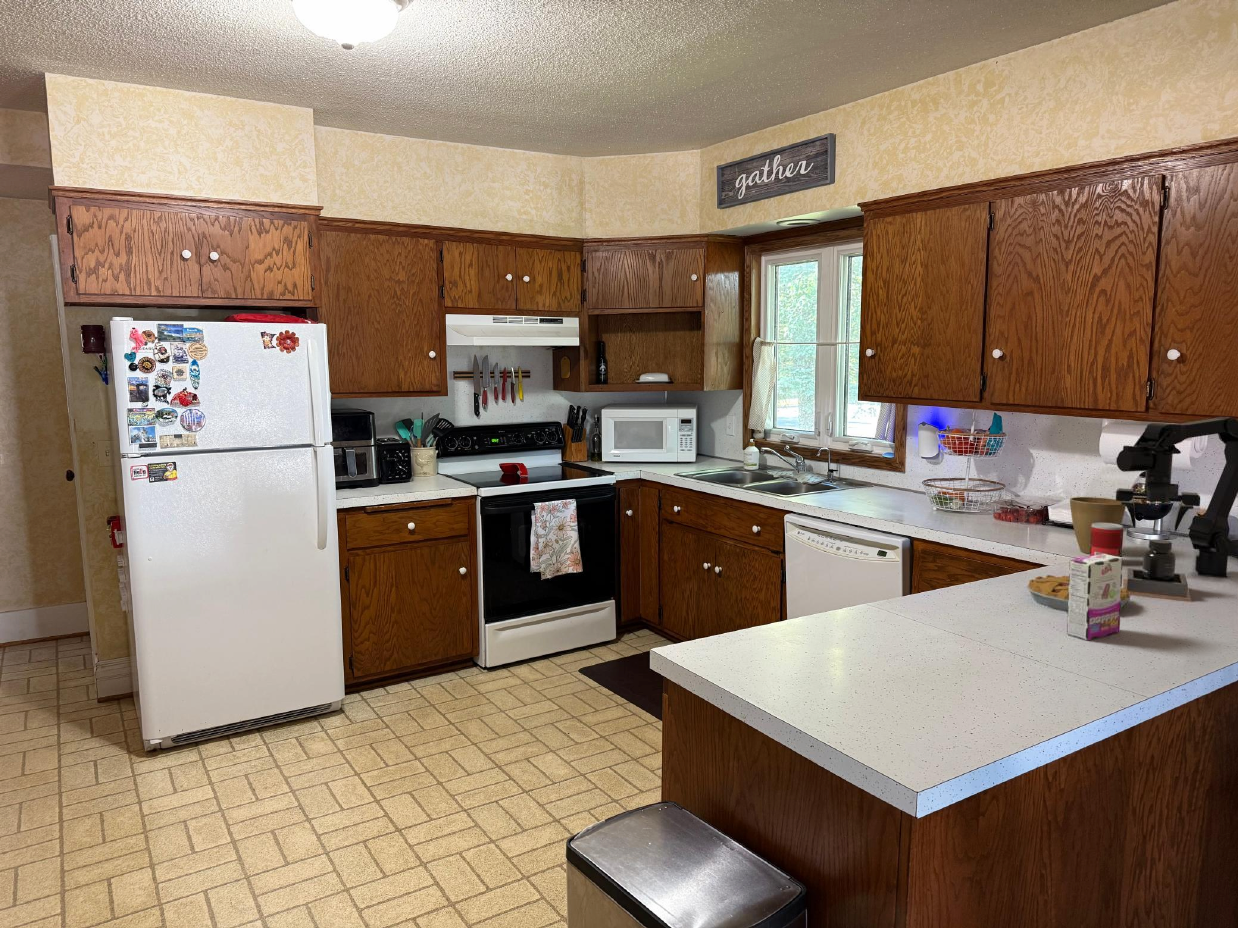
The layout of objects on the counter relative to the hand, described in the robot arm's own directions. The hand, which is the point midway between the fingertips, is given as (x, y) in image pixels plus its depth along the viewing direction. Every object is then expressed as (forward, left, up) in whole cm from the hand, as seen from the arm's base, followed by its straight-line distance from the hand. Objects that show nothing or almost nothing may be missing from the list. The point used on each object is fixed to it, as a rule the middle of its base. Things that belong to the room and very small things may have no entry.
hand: (1154, 529), depth 225 cm
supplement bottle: (-1, +16, -12) cm, 20 cm away
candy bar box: (+12, +62, -13) cm, 64 cm away
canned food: (+11, -13, -13) cm, 22 cm away
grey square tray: (-1, +16, -13) cm, 21 cm away
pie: (+16, +37, -14) cm, 42 cm away
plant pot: (+14, -27, -13) cm, 33 cm away
